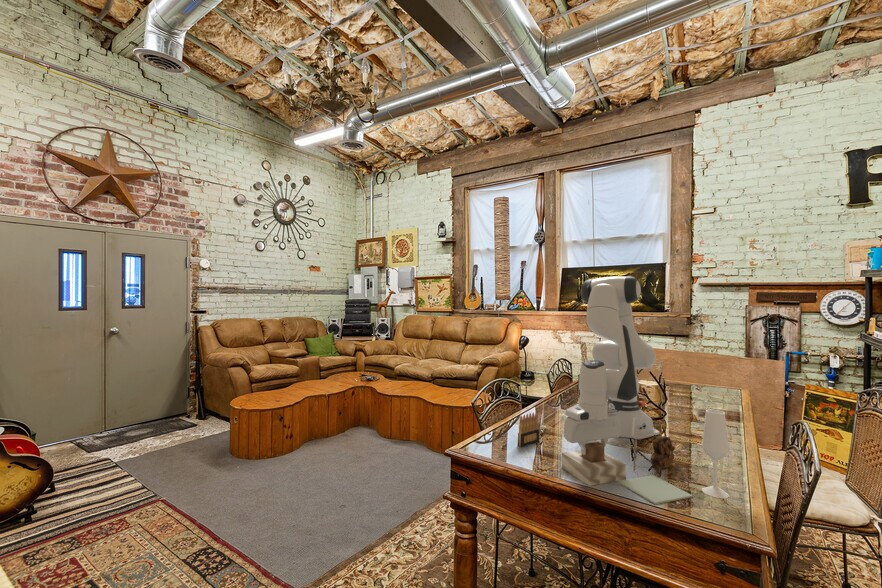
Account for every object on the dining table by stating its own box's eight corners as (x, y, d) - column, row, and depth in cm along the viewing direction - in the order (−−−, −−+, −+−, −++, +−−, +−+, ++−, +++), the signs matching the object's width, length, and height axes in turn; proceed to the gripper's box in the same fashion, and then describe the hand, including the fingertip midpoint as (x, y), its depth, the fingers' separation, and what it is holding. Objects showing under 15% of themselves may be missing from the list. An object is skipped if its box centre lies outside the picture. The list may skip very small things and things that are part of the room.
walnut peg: (593, 469, 136) (594, 439, 136) (604, 475, 131) (604, 444, 131) (581, 471, 134) (581, 441, 134) (591, 477, 129) (591, 446, 129)
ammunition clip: (521, 447, 155) (521, 416, 155) (517, 446, 157) (517, 415, 157) (539, 441, 161) (539, 411, 162) (535, 440, 163) (536, 410, 163)
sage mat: (653, 476, 130) (653, 475, 130) (692, 497, 117) (692, 495, 117) (618, 482, 126) (618, 481, 126) (654, 504, 113) (655, 502, 113)
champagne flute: (698, 486, 124) (698, 407, 124) (723, 489, 122) (724, 409, 122) (706, 496, 118) (706, 413, 118) (732, 499, 116) (733, 415, 116)
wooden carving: (664, 476, 131) (664, 445, 131) (649, 472, 134) (649, 442, 134) (677, 461, 143) (677, 433, 143) (662, 458, 146) (662, 430, 146)
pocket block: (595, 462, 141) (595, 448, 141) (625, 479, 128) (626, 463, 128) (561, 467, 137) (561, 452, 137) (589, 485, 124) (589, 469, 124)
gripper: (611, 405, 139) (611, 446, 139) (561, 410, 132) (560, 452, 132) (625, 410, 133) (625, 452, 133) (573, 416, 126) (573, 460, 126)
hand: (592, 453), depth 133 cm, fingers closed on walnut peg, 5 cm apart
